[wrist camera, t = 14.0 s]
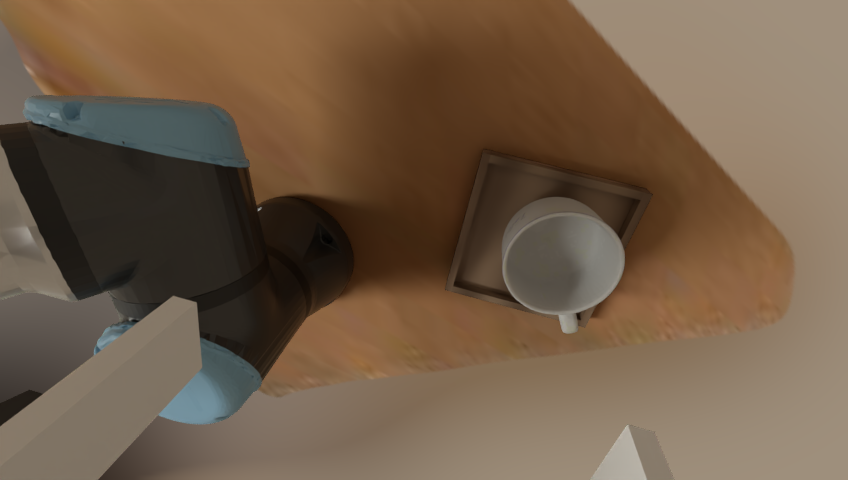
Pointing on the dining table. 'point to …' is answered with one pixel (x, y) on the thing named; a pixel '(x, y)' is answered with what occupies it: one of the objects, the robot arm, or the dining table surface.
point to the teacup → (560, 258)
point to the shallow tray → (508, 193)
